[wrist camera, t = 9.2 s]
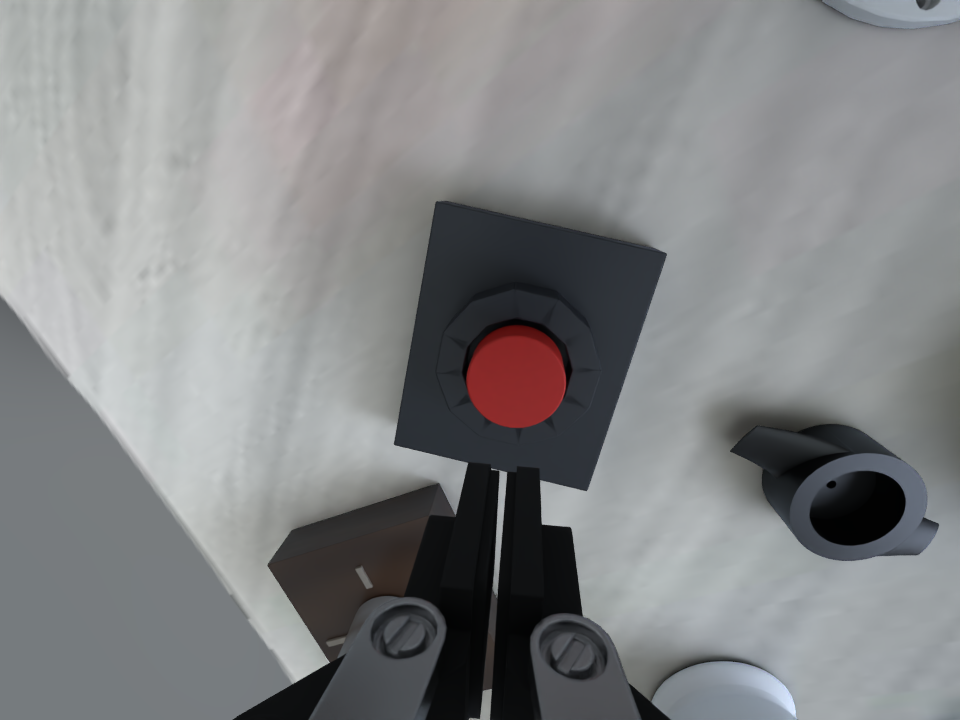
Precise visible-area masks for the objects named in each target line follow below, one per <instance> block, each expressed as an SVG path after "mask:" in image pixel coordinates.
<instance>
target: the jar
mask: <svg viewBox="0 0 960 720" xmlns="http://www.w3.org/2000/svg"><path fill="white" fill-rule="evenodd" d="M652 704H653V705H655V706H656V707H657V708H658V709H659V710H660V711H661V712H663V713H664V714H665V715H666V716H667V717H668V718H670V719H671V720H798V719H797V718H796V710H795V705H794V701H793V699H792V696H791V694H790V693H789V691H788V690H787V688H786V687H785V686H784V685H783V684H782V683H781V682H780V681H779V680H778V679H777V678H776V677H774V676H773V675H771V674H770V673H768V672H766V671H764V670H762V669H760V668H758V667H755V666H751V665H748V664H744V663H738V662H730V661H716V662H708V663H701V664H698V665H694V666H691V667H688V668H685V669H683V670H681V671H679V672H677V673H675V674H674V675H672V676H671V677H670V678H668V679H667V680H666V681H665V682H664V683H663V684H662V685H661V686H660V687H659V688H658V690H657V691H656V693H655V695H654V697H653V700H652Z"/></svg>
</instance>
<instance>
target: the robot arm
mask: <svg viewBox="0 0 960 720" xmlns="http://www.w3.org/2000/svg"><path fill="white" fill-rule="evenodd" d="M822 1H823V2H824V3H826V4H827V5H829V6H831V7H832V8H834V9H836V10H838V11H839V12H841V13H843V14H844V15H846V16H848V17H850V18H852V19H855V20H858V21H862V22H865V23H869V24H872V25H875V26H879V27H888V28H905V29H917V28H924V27H931V26H938V25H945V24H950V23H953V22H956V21H959V20H960V0H917V3H916V0H822ZM498 490H499V471H496V470H491V464H485V463H473V462H469V463H468V466H467V471H466V475H465V479H464V483H463V488H462V492H461V496H460V501H459V505H458V509H457V514H456V517H451V516H440V515H430V516H429V518H428V521H427V524H426V527H425V531H424V534H423V537H422V540H421V543H420V547H419V550H418V553H417V556H416V559H415V562H414V566H413V569H412V572H411V575H410V578H409V581H408V585H407V588H406V591H405V594H404V597H403V598H396V599H393V600H390V601H388V602H385V603H383V604H382V605H380V606H379V607H378V608H376V609H375V610H373V612H372V613H371V614H370V615H369V617H368V618H367V619H366V621H365V622H364V624H363V626H362V628H361V629H360V631H359V633H358V634H357V636H356V638H355V640H354V641H353V643H352V645H351V647H350V648H349V650H348V652H347V653H346V654H344V655H343V656H341V657H339V658H337V659H336V660H334V661H332V662H330V663H329V664H327V665H325V666H323V667H322V668H320V669H318V670H317V671H315V672H313V673H311V674H310V675H308V676H306V677H304V678H303V679H301V680H299V681H298V682H296V683H294V684H292V685H291V686H289V687H287V688H286V689H284V690H282V691H280V692H279V693H277V694H275V695H273V696H272V697H270V698H268V699H266V700H265V701H263V702H261V703H260V704H258V705H256V706H254V707H253V708H251V709H249V710H247V711H246V712H244V713H242V714H241V715H239V716H237V717H236V718H235V719H233V720H469V718H477V719H480V713H481V703H482V693H483V682H484V672H485V661H486V651H487V640H488V629H489V619H490V608H491V598H492V587H493V577H494V563H495V545H496V527H497V509H498ZM490 720H671V719H670V718H668V717H667V716H666V715H665V714H664V713H663V712H661V711H660V710H659V709H658V708H657V707H656V706H655V705H653V704H652V703H651V702H650V701H649V700H648V699H647V698H645V697H644V696H643V695H642V694H641V693H640V692H638V691H637V690H636V689H635V688H634V687H633V686H632V685H630V684H629V683H628V681H627V678H626V675H625V672H624V670H623V667H622V664H621V661H620V658H619V656H618V653H617V650H616V647H615V645H614V643H613V642H612V640H611V638H610V636H609V635H608V634H607V633H606V632H605V631H604V630H603V629H602V628H601V626H599V625H598V624H596V623H595V622H593V621H591V620H590V619H588V618H585V617H583V615H582V607H581V599H580V591H579V583H578V575H577V568H576V560H575V552H574V544H573V536H572V530H571V528H570V527H562V526H551V525H542V521H541V494H540V469H539V468H534V467H522V466H517V470H516V472H507V483H506V496H505V508H504V521H503V533H502V545H501V558H500V570H499V583H498V597H497V613H496V630H495V646H494V663H493V680H492V697H491V714H490Z"/></svg>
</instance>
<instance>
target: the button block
mask: <svg viewBox="0 0 960 720" xmlns="http://www.w3.org/2000/svg"><path fill="white" fill-rule="evenodd" d="M666 256H667V254H666V253H664V252H662V251H660V250H657V249H655V248H651V247H647V246H643V245H638V244H634V243H629V242H625V241H621V240H616V239H612V238H607V237H603V236H599V235H594V234H590V233H585V232H581V231H576V230H572V229H568V228H563V227H559V226H554V225H550V224H546V223H541V222H537V221H532V220H528V219H524V218H519V217H515V216H510V215H506V214H501V213H497V212H493V211H488V210H484V209H479V208H475V207H471V206H466V205H462V204H457V203H453V202H449V201H437V202H436V204H435V210H434V215H433V221H432V227H431V233H430V239H429V244H428V250H427V256H426V262H425V268H424V273H423V279H422V285H421V291H420V297H419V302H418V308H417V314H416V320H415V325H414V331H413V337H412V343H411V349H410V354H409V360H408V366H407V372H406V378H405V383H404V389H403V395H402V401H401V407H400V412H399V418H398V424H397V430H396V436H395V441H394V445H397V446H401V447H405V448H409V449H413V450H417V451H422V452H426V453H430V454H434V455H438V456H442V457H447V458H451V459H455V460H459V461H463V462H467V463H469V462H473V463H485V464H491V468H492V469H497V470H501V471H505V472H516V470H517V466H522V467H534V468H539V469H540V480H542V481H547V482H551V483H555V484H559V485H563V486H567V487H572V488H576V489H580V490H584V491H587V490H588V487H589V484H590V481H591V478H592V475H593V472H594V470H595V467H596V464H597V461H598V458H599V455H600V452H601V449H602V446H603V443H604V440H605V437H606V434H607V431H608V428H609V425H610V422H611V419H612V416H613V413H614V410H615V407H616V404H617V401H618V398H619V395H620V392H621V389H622V386H623V383H624V380H625V377H626V375H627V372H628V369H629V366H630V363H631V360H632V357H633V354H634V351H635V348H636V345H637V342H638V339H639V336H640V333H641V330H642V327H643V324H644V321H645V318H646V315H647V312H648V309H649V306H650V303H651V300H652V297H653V294H654V291H655V288H656V285H657V282H658V280H659V277H660V274H661V271H662V268H663V265H664V262H665V259H666ZM509 325H524V326H529V327H532V328H535V329H537V330H540V331H541V332H543V333H544V334H546V335H547V336H548V337H550V338H551V340H552V341H553V342H554V343H555V344H556V346H557V347H558V349H559V351H560V353H561V356H562V359H563V364H564V370H565V375H566V389H565V394H564V397H563V399H562V401H561V403H560V405H559V407H558V408H557V409H556V411H555V412H554V413H553V414H552V415H551V416H549V417H548V418H547V419H545V420H544V421H542V422H540V423H538V424H536V425H533V426H529V427H524V428H510V427H504V426H501V425H498V424H496V423H493V422H492V421H490V420H488V419H487V418H486V417H484V416H483V415H482V414H481V413H480V412H479V411H478V410H477V409H476V408H475V406H474V405H473V403H472V401H471V399H470V397H469V394H468V390H467V384H466V377H467V371H468V368H469V364H470V362H471V359H472V356H473V354H474V351H475V349H476V347H477V346H478V344H479V343H480V342H481V340H482V339H483V338H484V337H485V336H487V335H488V334H489V333H491V332H492V331H494V330H496V329H498V328H501V327H505V326H509Z"/></svg>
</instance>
